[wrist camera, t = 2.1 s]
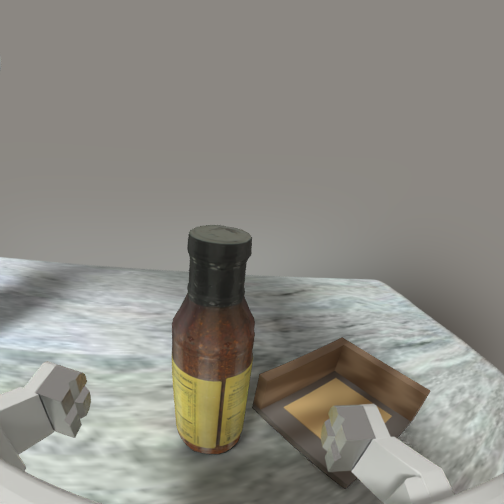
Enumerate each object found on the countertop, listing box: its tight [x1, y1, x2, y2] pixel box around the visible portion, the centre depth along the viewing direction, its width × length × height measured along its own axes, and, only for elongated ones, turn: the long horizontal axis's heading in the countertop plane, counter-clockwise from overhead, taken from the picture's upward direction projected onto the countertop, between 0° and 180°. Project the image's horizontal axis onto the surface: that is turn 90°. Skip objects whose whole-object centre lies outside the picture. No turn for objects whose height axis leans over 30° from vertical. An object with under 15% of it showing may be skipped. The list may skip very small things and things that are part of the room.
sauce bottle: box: [172, 225, 255, 454], centre depth 23 cm, size 7×6×20 cm
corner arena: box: [252, 338, 430, 489], centre depth 29 cm, size 14×14×5 cm
